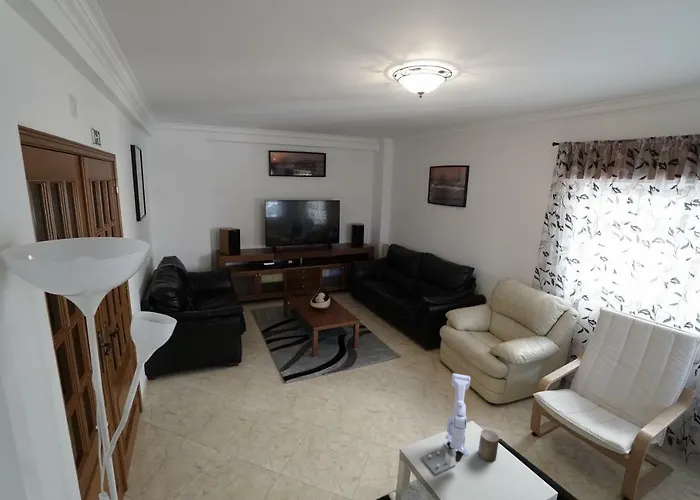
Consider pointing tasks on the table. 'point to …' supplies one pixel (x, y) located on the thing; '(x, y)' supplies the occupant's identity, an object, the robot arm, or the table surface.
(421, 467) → the table surface
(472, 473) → the table surface
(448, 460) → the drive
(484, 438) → the pillar candle
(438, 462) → the pin tray
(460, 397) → the robot arm
